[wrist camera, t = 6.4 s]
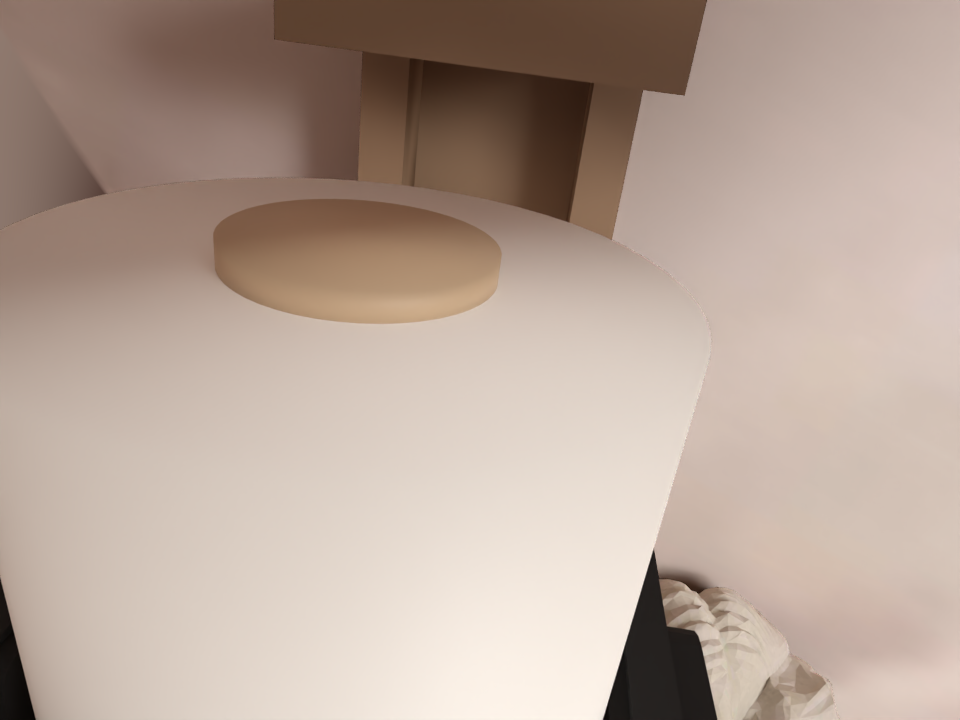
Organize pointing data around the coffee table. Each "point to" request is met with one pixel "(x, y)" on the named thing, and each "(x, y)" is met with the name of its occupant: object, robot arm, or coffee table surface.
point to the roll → (331, 452)
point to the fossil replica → (747, 658)
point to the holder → (505, 91)
